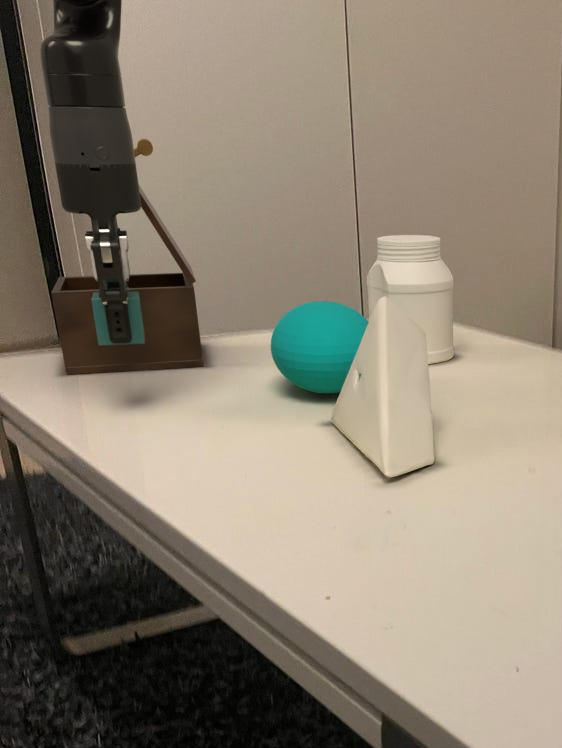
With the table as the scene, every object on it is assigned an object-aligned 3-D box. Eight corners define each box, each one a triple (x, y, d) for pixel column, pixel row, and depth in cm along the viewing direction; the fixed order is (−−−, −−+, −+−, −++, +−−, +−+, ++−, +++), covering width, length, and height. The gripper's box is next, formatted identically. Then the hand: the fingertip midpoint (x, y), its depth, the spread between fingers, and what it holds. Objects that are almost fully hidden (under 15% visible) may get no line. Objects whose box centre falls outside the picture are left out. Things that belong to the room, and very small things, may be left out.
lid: (101, 145, 115) (138, 123, 115) (105, 142, 126) (138, 122, 126) (190, 284, 124) (224, 264, 124) (186, 270, 136) (217, 251, 136)
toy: (393, 405, 112) (389, 313, 107) (278, 411, 109) (270, 317, 104) (372, 371, 127) (368, 289, 122) (271, 376, 124) (263, 292, 119)
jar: (362, 352, 137) (356, 236, 130) (423, 345, 142) (420, 232, 135) (399, 368, 129) (395, 244, 122) (463, 360, 133) (462, 240, 126)
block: (98, 345, 103) (91, 299, 101) (100, 337, 107) (92, 292, 104) (144, 343, 104) (138, 297, 102) (144, 335, 108) (138, 291, 106)
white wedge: (479, 422, 85) (435, 313, 99) (415, 403, 83) (379, 294, 96) (412, 552, 94) (381, 435, 107) (353, 539, 91) (328, 421, 105)
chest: (66, 374, 124) (50, 292, 120) (72, 352, 136) (58, 276, 132) (203, 366, 129) (193, 286, 124) (198, 346, 140) (189, 272, 136)
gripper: (59, 156, 102) (87, 326, 110) (48, 162, 90) (81, 353, 98) (135, 156, 104) (157, 324, 112) (135, 162, 92) (159, 349, 100)
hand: (121, 336), depth 105 cm, fingers closed on block, 4 cm apart
